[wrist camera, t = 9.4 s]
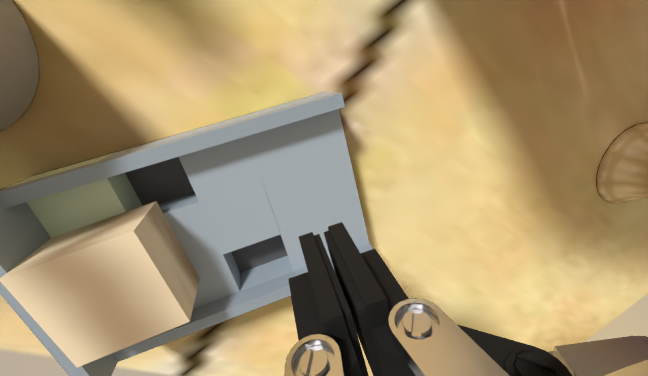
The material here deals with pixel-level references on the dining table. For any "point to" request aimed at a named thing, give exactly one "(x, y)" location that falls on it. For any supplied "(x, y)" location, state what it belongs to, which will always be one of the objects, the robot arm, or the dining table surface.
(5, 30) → the coffee mug
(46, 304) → the block
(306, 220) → the tray
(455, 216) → the dining table surface
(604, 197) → the hand bell
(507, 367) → the robot arm
